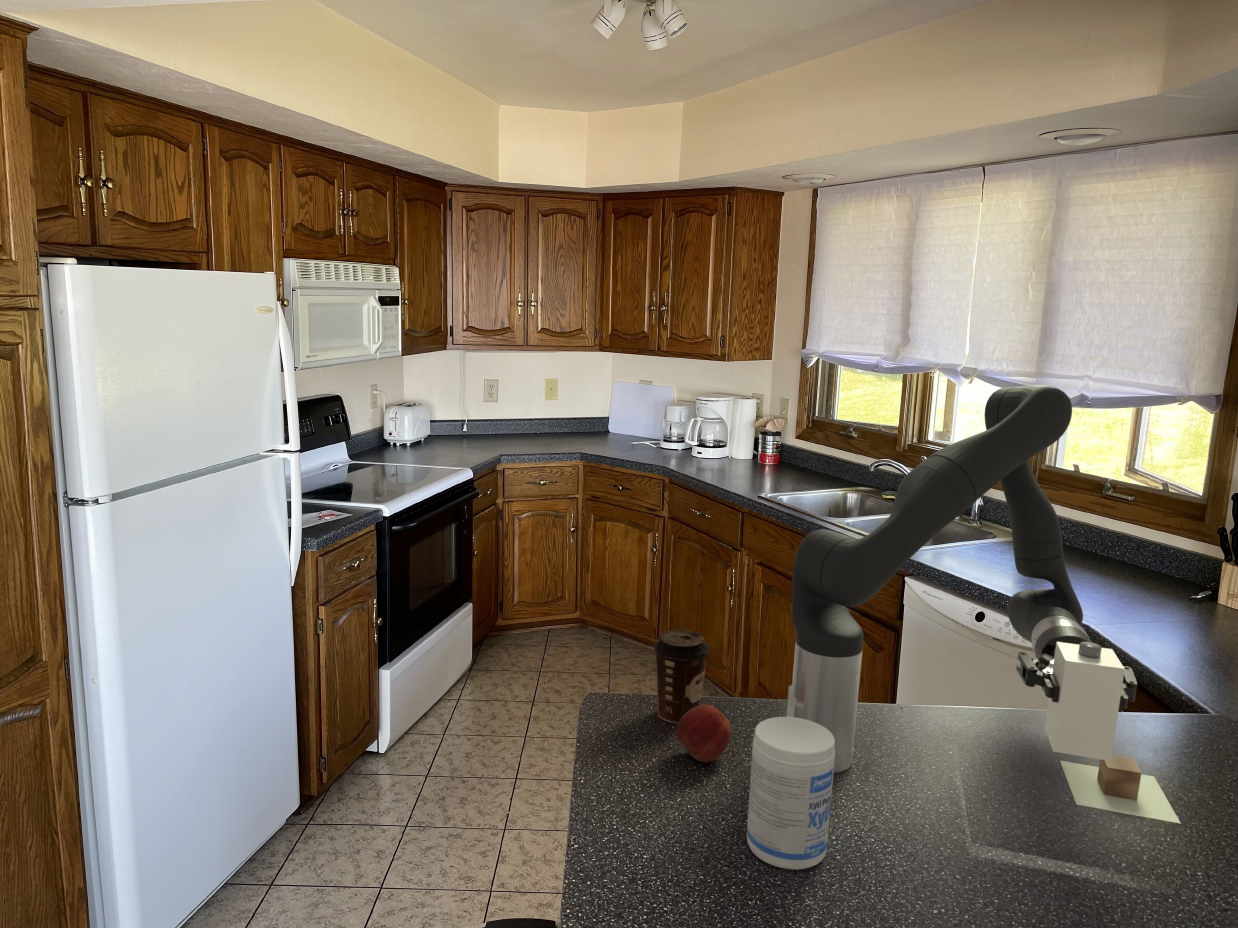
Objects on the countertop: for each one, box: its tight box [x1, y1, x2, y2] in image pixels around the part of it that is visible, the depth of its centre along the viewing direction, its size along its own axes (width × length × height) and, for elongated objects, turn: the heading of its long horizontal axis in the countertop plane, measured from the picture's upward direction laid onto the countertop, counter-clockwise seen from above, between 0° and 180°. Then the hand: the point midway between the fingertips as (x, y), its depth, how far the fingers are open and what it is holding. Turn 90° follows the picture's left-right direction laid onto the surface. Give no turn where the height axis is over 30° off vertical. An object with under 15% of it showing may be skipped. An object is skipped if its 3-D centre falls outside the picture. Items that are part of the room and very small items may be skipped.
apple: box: [675, 703, 732, 763], centre depth 123 cm, size 7×8×8 cm
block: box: [1097, 754, 1142, 801], centre depth 117 cm, size 4×4×4 cm
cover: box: [1044, 641, 1125, 761], centre depth 108 cm, size 6×6×13 cm
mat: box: [1059, 760, 1181, 824], centre depth 117 cm, size 12×12×1 cm
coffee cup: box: [653, 629, 711, 725], centre depth 135 cm, size 9×8×13 cm
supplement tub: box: [746, 716, 835, 870], centre depth 102 cm, size 10×10×15 cm
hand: (1088, 699), depth 106 cm, fingers closed on cover, 6 cm apart
